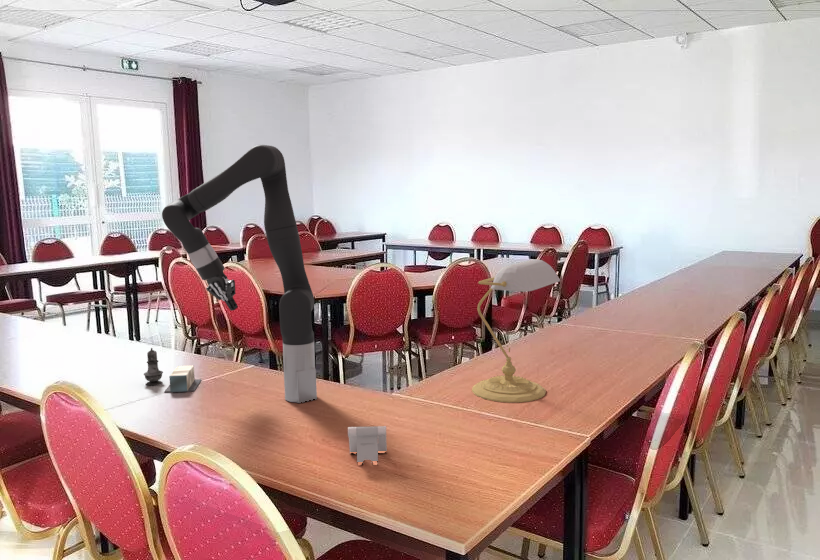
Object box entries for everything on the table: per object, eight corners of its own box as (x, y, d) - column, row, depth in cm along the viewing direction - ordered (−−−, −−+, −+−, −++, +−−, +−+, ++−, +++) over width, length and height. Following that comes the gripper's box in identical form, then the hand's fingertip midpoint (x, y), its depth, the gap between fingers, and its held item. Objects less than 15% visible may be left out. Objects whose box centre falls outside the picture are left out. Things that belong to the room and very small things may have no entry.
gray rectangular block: (194, 391, 203) (194, 390, 203) (164, 392, 202) (164, 391, 202) (201, 380, 215) (201, 379, 215) (173, 381, 214) (173, 380, 214)
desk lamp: (524, 412, 180) (526, 268, 175) (452, 398, 193) (451, 264, 187) (563, 383, 206) (566, 258, 200) (497, 373, 218) (497, 255, 213)
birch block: (186, 375, 201) (193, 365, 213) (169, 376, 201) (178, 366, 213) (187, 391, 202) (194, 380, 214) (170, 391, 201) (178, 380, 213)
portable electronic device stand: (386, 451, 154) (386, 417, 153) (386, 465, 146) (386, 429, 145) (350, 452, 154) (349, 418, 153) (348, 466, 146) (347, 430, 145)
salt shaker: (140, 385, 211) (137, 348, 209) (155, 380, 216) (152, 344, 214) (153, 387, 208) (150, 350, 206) (167, 382, 213) (165, 346, 211)
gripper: (227, 252, 196) (255, 300, 202) (203, 258, 205) (230, 305, 210) (209, 264, 191) (238, 313, 196) (185, 270, 200) (214, 317, 205)
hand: (234, 309), depth 203 cm, fingers closed
